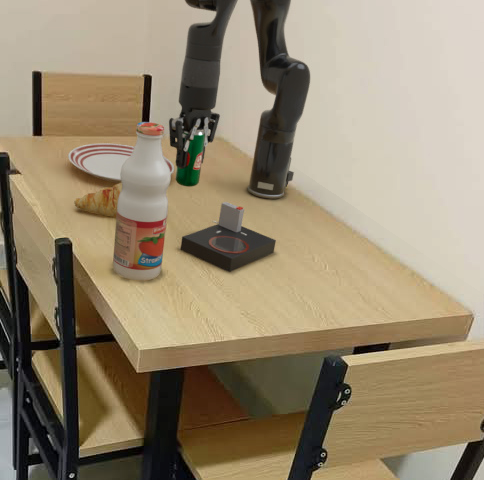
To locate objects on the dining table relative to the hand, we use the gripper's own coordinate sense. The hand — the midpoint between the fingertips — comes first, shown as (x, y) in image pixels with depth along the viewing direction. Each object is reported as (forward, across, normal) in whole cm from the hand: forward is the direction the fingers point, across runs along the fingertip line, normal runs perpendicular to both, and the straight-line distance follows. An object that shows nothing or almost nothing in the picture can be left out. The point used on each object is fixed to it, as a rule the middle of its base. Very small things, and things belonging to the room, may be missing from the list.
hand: (189, 165), depth 156 cm
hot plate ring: (+12, +3, +15) cm, 20 cm away
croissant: (+15, +3, -16) cm, 22 cm away
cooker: (+15, 0, +13) cm, 20 cm away
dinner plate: (+15, -17, -35) cm, 42 cm away
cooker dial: (+12, -4, +10) cm, 16 cm away
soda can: (+4, 0, 0) cm, 4 cm away
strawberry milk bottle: (+15, +23, +8) cm, 29 cm away
